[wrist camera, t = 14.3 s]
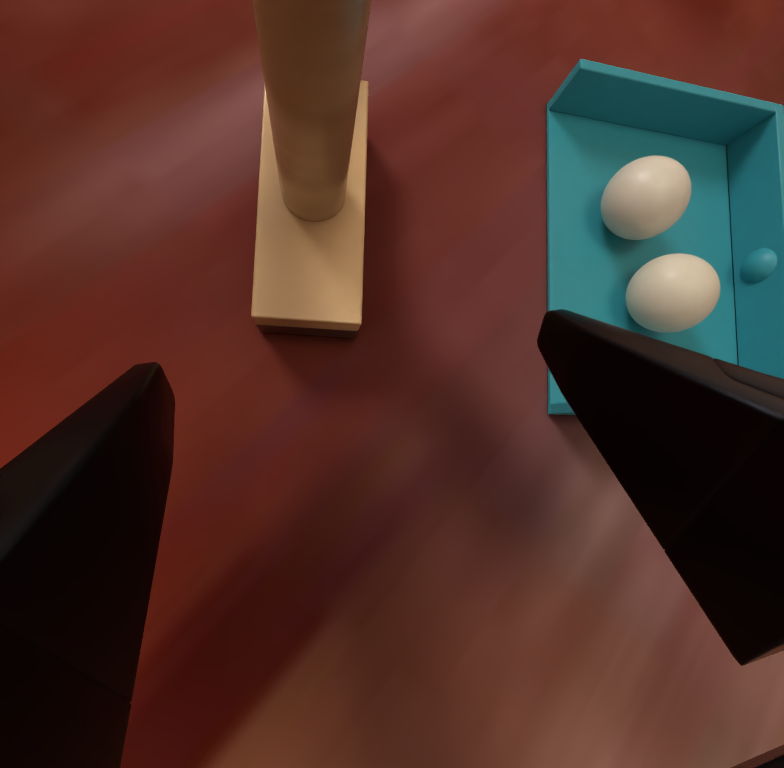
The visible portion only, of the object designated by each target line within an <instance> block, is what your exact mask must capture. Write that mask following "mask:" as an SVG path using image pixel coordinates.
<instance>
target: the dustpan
mask: <svg viewBox="0 0 784 768" xmlns="http://www.w3.org/2000/svg"><path fill="white" fill-rule="evenodd" d="M726 145H727V159H726ZM654 155H656V156H666V157H669V158H672V159H674V160H676V161H678V162H679V163H680V164H681V165H683V166H684V168H685V169H686V170H687V172H688V174H689V177H690V180H691V197H690V201H689V203H688V206H687V208H686V210H685V211H684V213H683V215H682V216H681V217H680V218H679V220H678V221H677V222H676V223H675V224H674V225H673V226H671V227H670V228H669V229H668V230H666V231H664V232H663V233H661V234H659V235H657V236H654V237H651V238H648V239H643V240H629V239H624V238H621V237H619V236H617V235H615V234H614V233H612V232H611V231H610V230H609V229H608V228H607V226H606V225H605V223H604V221H603V219H602V215H601V199H602V195H603V192H604V190H605V188H606V186H607V184H608V182H609V181H610V180H611V178H612V177H613V176H614V175H615V174H616V173H617V172H618V171H619V170H620V169H621V168H622V167H624V166H625V165H627V164H629V163H630V162H632V161H634V160H637V159H639V158H643V157H647V156H654ZM727 162H728V177H727ZM728 180H729V196H728ZM729 198H730V214H729ZM730 217H731V233H730ZM731 235H732V251H731ZM675 253H683V254H690V255H694V256H697V257H699V258H701V259H703V260H705V261H706V262H708V263H709V264H710V265H711V266H712V267H713V268H714V270H715V271H716V273H717V275H718V277H719V280H720V296H719V299H718V302H717V304H716V306H715V308H714V309H713V311H712V312H711V313H710V314H709V315H708V316H707V317H706V318H705V319H704V320H703V321H701V322H700V323H699V324H697V325H695V326H693V327H691V328H689V329H686V330H683V331H679V332H673V333H661V332H655V331H651V330H648V329H646V328H644V327H642V326H641V325H639V324H638V323H637V322H636V321H635V320H634V319H633V318H632V317H631V315H630V314H629V312H628V309H627V306H626V300H625V296H626V290H627V287H628V284H629V282H630V280H631V278H632V277H633V275H634V274H635V273H636V272H637V271H638V270H639V269H640V268H641V267H642V266H643V265H645V264H646V263H648V262H649V261H651V260H653V259H655V258H657V257H660V256H663V255H668V254H675ZM732 253H733V270H732ZM733 272H734V288H733ZM547 281H548V311H551V310H558V309H565V310H568V311H571V312H574V313H578V314H581V315H584V316H587V317H590V318H593V319H596V320H599V321H602V322H605V323H608V324H612V325H615V326H618V327H621V328H624V329H627V330H630V331H633V332H636V333H639V334H643V335H646V336H649V337H652V338H655V339H658V340H661V341H664V342H667V343H670V344H673V345H677V346H680V347H683V348H686V349H689V350H692V351H695V352H698V353H701V354H704V355H707V356H711V357H712V358H713V359H714V358H717V359H720V360H723V361H726V362H729V363H732V364H736V365H738V364H739V366H742V367H745V368H748V369H752V370H755V371H758V372H761V373H765V374H768V375H772V376H775V377H778V378H782V379H784V109H783V105H780V104H775V103H772V102H767V101H763V100H759V99H754V98H750V97H746V96H741V95H737V94H732V93H728V92H724V91H719V90H715V89H711V88H706V87H702V86H698V85H693V84H689V83H684V82H680V81H676V80H671V79H667V78H663V77H658V76H654V75H650V74H645V73H641V72H637V71H632V70H628V69H623V68H619V67H615V66H610V65H606V64H602V63H597V62H593V61H589V60H584V59H580V60H579V62H578V63H577V64H576V66H575V67H574V68H573V70H572V71H571V72H570V74H569V75H568V77H567V78H566V79H565V81H564V82H563V83H562V85H561V86H560V88H559V89H558V90H557V92H556V93H555V94H554V96H553V97H552V98H551V100H550V101H549V102H548V103H547ZM734 290H735V307H734ZM735 309H736V325H735ZM736 327H737V343H736ZM737 345H738V362H737ZM548 414H556V415H575V413H574V412H573V410H572V409H571V407H570V406H569V404H568V403H567V401H566V399H565V398H564V396H563V395H562V393H561V391H560V389H559V387H558V386H557V384H556V382H555V380H554V378H553V376H552V374H551V372H550V370H549V368H548Z"/></svg>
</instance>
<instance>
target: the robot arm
mask: <svg viewBox="0 0 784 768" xmlns="http://www.w3.org/2000/svg"><path fill="white" fill-rule="evenodd" d="M537 343H538V348H539V350H540V352H541V354H542V356H543V358H544V360H545V362H546V364H547V366H548V368H549V370H550V372H551V374H552V376H553V378H554V380H555V382H556V384H557V386H558V387H559V389H560V391H561V393H562V395H563V396H564V398H565V399H566V401H567V403H568V404H569V406H570V407H571V409H572V410H573V412H574V413H575V415H576V416H577V418H578V419H579V421H580V423H581V424H582V426H583V427H584V429H585V430H586V432H587V433H588V435H589V436H590V438H591V439H592V441H593V442H594V444H595V445H596V447H597V449H598V450H599V452H600V453H601V455H602V456H603V458H604V459H605V461H606V462H607V464H608V465H609V467H610V468H611V470H612V471H613V473H614V474H615V476H616V478H617V479H618V481H619V482H620V484H621V485H622V487H623V488H624V490H625V491H626V493H627V494H628V496H629V497H630V499H631V500H632V502H633V504H634V505H635V507H636V508H637V510H638V511H639V513H640V514H641V516H642V517H643V519H644V520H645V522H646V523H647V525H648V526H649V528H650V530H651V531H652V533H653V534H654V536H655V537H656V539H657V540H658V542H659V543H660V545H661V546H662V548H663V549H665V553H666V554H667V556H668V558H669V559H670V561H671V562H672V564H673V565H674V567H675V568H676V570H677V571H678V573H679V574H680V576H681V577H682V579H683V580H684V582H685V584H686V585H687V587H688V588H689V590H690V591H691V593H692V594H693V596H694V597H695V599H696V600H697V602H698V603H699V605H700V607H701V608H702V610H703V611H704V613H705V614H706V616H707V617H708V619H709V620H710V622H711V623H712V625H713V626H714V628H715V629H716V631H717V633H718V634H719V636H720V637H721V639H722V640H723V642H724V643H725V645H726V646H727V648H728V649H729V651H730V652H731V654H732V655H733V657H734V658H735V659H736V660H737V662H738V663H739V664H740V665H741V666H743V665H746V664H748V663H751V662H754V661H756V660H759V659H762V658H765V657H767V656H770V655H773V654H775V653H778V652H781V651H783V650H784V379H782V378H778V377H775V376H772V375H768V374H765V373H761V372H758V371H755V370H752V369H748V368H745V367H742V366H739V365H736V364H732V363H729V362H726V361H723V360H720V359H717V358H714V359H713V358H712V357H711V356H707V355H704V354H701V353H698V352H695V351H692V350H689V349H686V348H683V347H680V346H677V345H673V344H670V343H667V342H664V341H661V340H658V339H655V338H652V337H649V336H646V335H643V334H639V333H636V332H633V331H630V330H627V329H624V328H621V327H618V326H615V325H612V324H608V323H605V322H602V321H599V320H596V319H593V318H590V317H587V316H584V315H581V314H578V313H574V312H571V311H568V310H565V309H558V310H551V311H548V312H547V313H546V314H545V316H544V318H543V322H542V325H541V328H540V332H539V335H538V339H537ZM174 416H175V398H174V394H173V391H172V389H171V387H170V384H169V382H168V380H167V378H166V376H165V373H164V371H163V369H162V367H161V366H160V365H159V364H158V363H156V362H151V363H144V364H137V365H134V366H133V367H132V368H130V369H129V370H128V371H127V372H125V373H124V374H123V375H121V376H120V377H119V378H117V379H116V380H115V381H114V382H112V383H111V384H110V385H108V386H107V387H106V388H105V389H103V390H102V391H101V392H99V393H98V394H97V395H95V396H94V397H93V398H92V399H90V400H89V401H88V402H86V403H85V404H84V405H82V406H81V407H80V408H79V409H77V410H76V411H75V412H73V413H72V414H71V415H70V416H68V417H67V418H66V419H64V420H63V421H62V422H60V423H59V424H58V425H57V426H55V427H54V428H53V429H51V430H50V431H49V432H47V433H46V434H45V435H44V436H42V437H41V438H40V439H38V440H37V441H36V442H35V443H33V444H32V445H31V446H29V447H28V448H27V449H25V450H24V451H23V452H22V453H20V454H19V455H18V456H16V457H15V458H14V459H12V460H11V461H10V462H9V463H7V464H6V465H5V466H3V467H2V468H1V469H0V768H120V766H121V760H122V754H123V749H124V743H125V737H126V732H127V726H128V720H129V714H130V709H131V704H130V702H131V700H132V695H133V690H134V684H135V678H136V672H137V667H138V661H139V655H140V649H141V644H142V638H143V632H144V626H145V621H146V615H147V609H148V604H149V598H150V592H151V586H152V581H153V575H154V569H155V563H156V558H157V552H158V546H159V540H160V535H161V529H162V523H163V517H164V512H165V506H166V500H167V495H168V489H169V483H170V477H171V471H172V464H173V446H174ZM731 768H784V745H782V746H779V747H777V748H775V749H773V750H770V751H768V752H766V753H763V754H761V755H759V756H757V757H754V758H752V759H750V760H747V761H745V762H743V763H741V764H738V765H736V766H734V767H731Z"/></svg>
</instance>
